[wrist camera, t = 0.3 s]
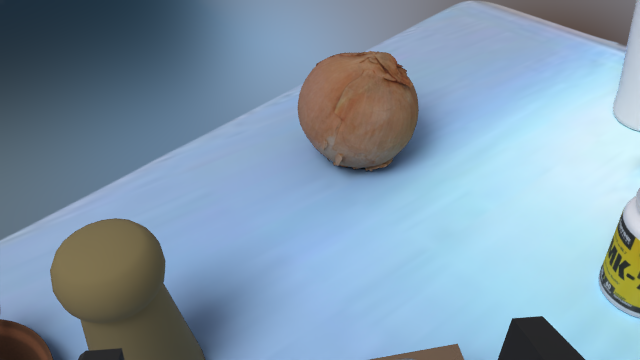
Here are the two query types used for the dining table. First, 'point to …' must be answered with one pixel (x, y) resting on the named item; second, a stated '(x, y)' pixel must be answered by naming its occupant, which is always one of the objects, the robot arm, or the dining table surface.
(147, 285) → the cork
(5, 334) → the cup and saucer
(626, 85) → the drinking glass
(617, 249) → the supplement bottle
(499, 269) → the dining table surface
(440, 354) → the rod holder
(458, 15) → the dining table surface
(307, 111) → the onion
